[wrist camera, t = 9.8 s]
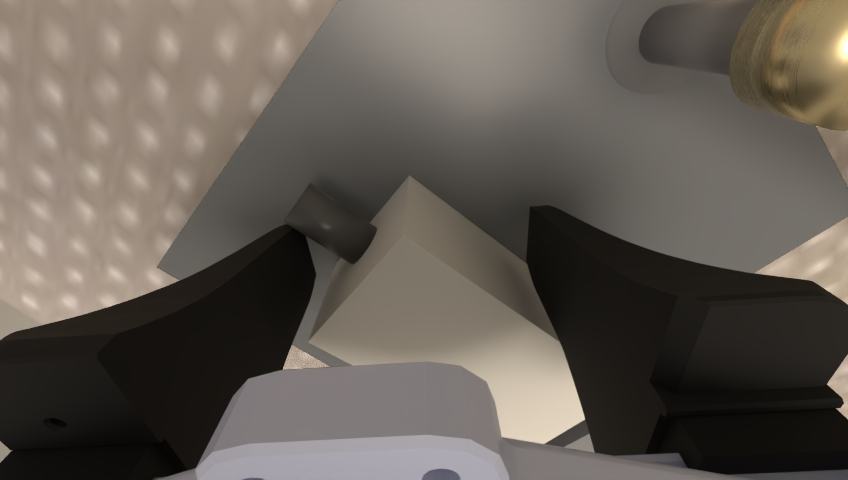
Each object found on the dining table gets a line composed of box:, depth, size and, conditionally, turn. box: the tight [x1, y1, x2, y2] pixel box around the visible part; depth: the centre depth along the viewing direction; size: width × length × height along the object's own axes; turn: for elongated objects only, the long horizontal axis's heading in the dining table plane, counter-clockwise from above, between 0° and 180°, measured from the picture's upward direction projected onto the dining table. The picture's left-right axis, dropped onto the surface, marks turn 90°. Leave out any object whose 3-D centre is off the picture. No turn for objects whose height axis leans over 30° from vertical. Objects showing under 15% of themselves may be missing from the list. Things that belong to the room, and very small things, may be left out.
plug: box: [283, 175, 585, 444], centre depth 12 cm, size 11×4×4 cm, turn 51°
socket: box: [157, 0, 848, 453], centre depth 12 cm, size 17×19×5 cm
